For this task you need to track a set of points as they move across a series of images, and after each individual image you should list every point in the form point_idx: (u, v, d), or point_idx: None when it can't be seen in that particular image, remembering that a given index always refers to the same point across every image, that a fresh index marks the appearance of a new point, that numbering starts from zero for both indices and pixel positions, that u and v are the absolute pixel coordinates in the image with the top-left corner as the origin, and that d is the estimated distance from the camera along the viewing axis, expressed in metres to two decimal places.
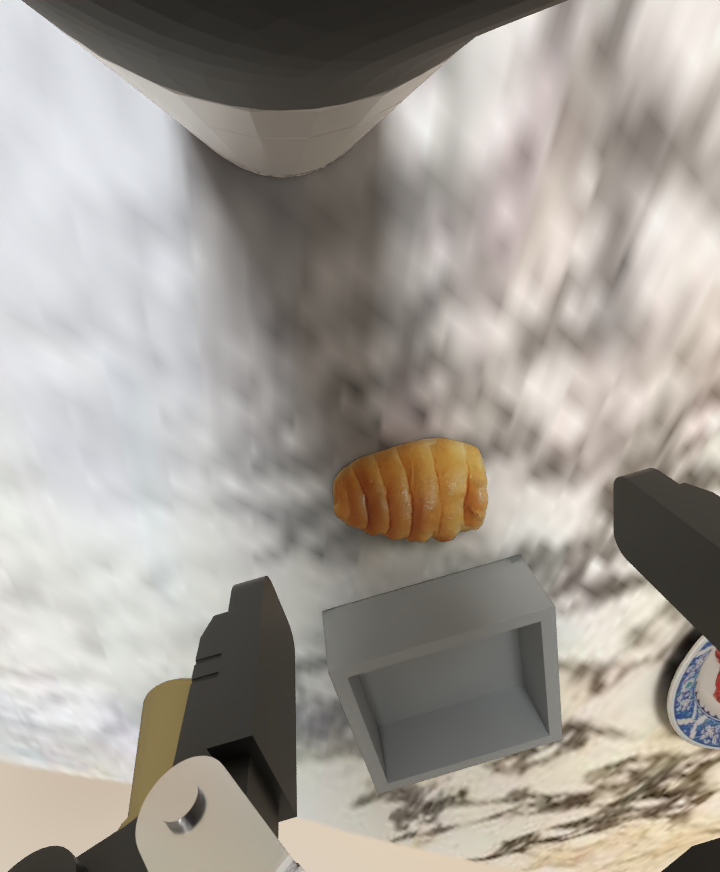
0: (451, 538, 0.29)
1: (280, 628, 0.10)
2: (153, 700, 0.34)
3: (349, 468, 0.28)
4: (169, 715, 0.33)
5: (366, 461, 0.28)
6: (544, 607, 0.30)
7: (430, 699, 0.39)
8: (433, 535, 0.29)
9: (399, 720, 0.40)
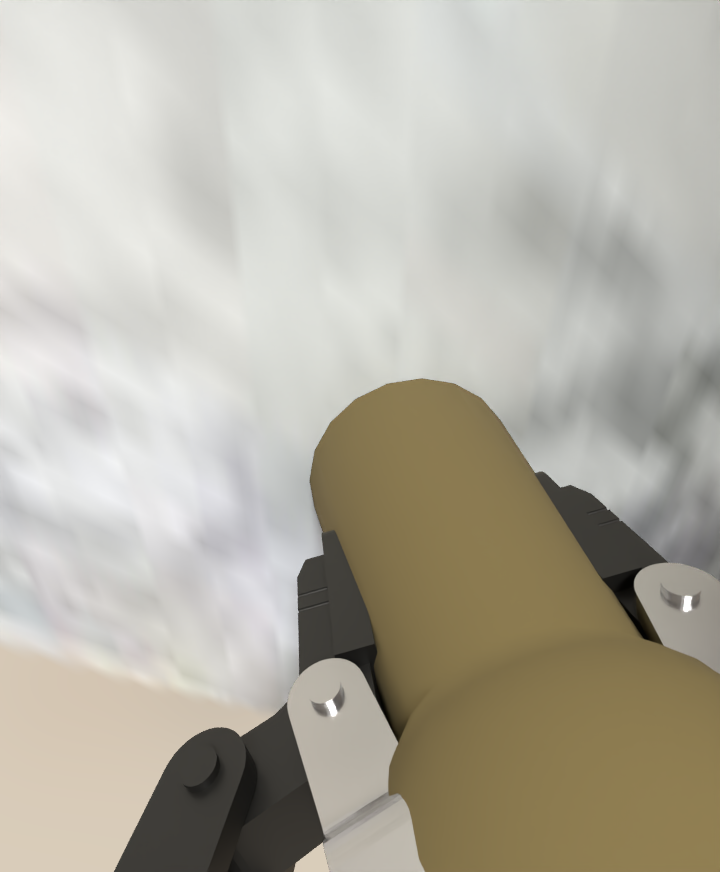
0: None
1: None
2: (362, 417, 0.12)
3: None
4: (435, 428, 0.11)
5: None
6: None
7: None
8: None
9: None
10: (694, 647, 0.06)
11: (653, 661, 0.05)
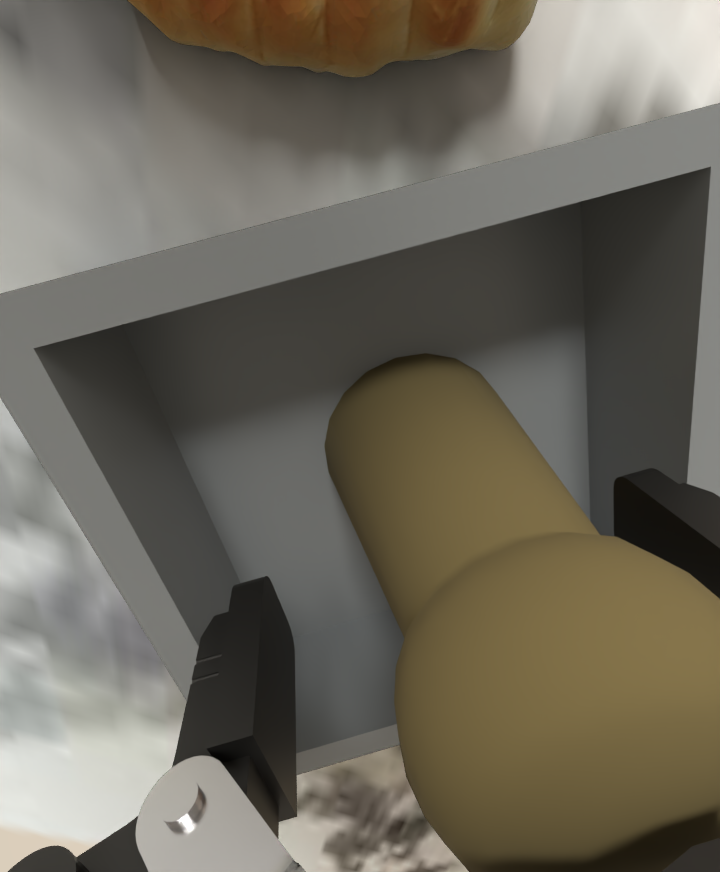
0: None
1: (280, 628, 0.10)
2: (374, 386, 0.13)
3: None
4: (439, 392, 0.12)
5: None
6: None
7: None
8: None
9: (317, 630, 0.18)
10: None
11: (612, 544, 0.07)
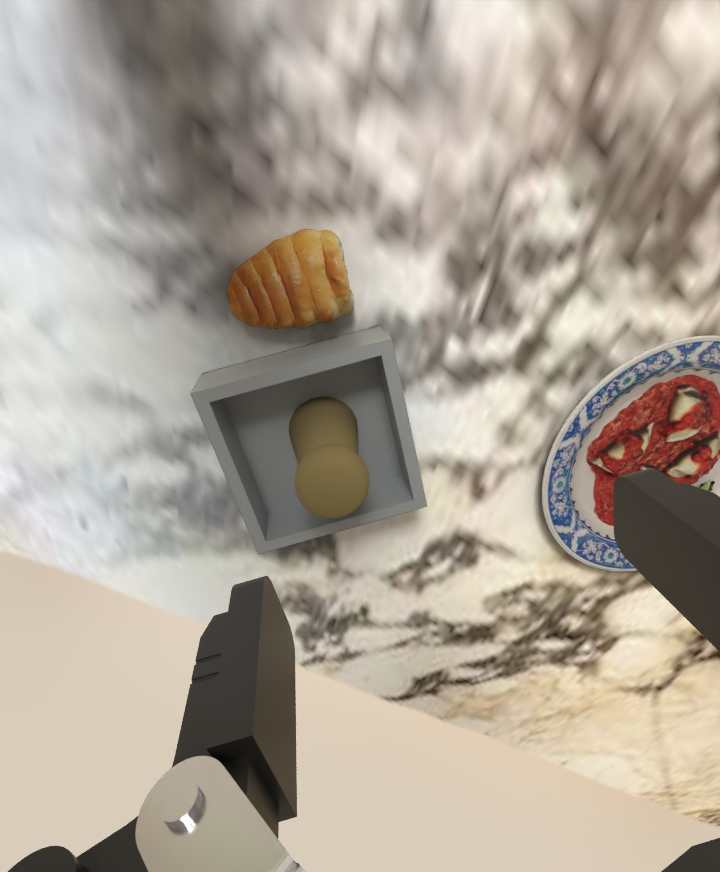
0: (329, 312, 0.35)
1: (280, 628, 0.10)
2: (303, 408, 0.39)
3: None
4: (322, 411, 0.38)
5: (245, 263, 0.34)
6: (383, 340, 0.34)
7: None
8: (315, 314, 0.35)
9: (288, 507, 0.44)
10: None
11: (338, 445, 0.32)
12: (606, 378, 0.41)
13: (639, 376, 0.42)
